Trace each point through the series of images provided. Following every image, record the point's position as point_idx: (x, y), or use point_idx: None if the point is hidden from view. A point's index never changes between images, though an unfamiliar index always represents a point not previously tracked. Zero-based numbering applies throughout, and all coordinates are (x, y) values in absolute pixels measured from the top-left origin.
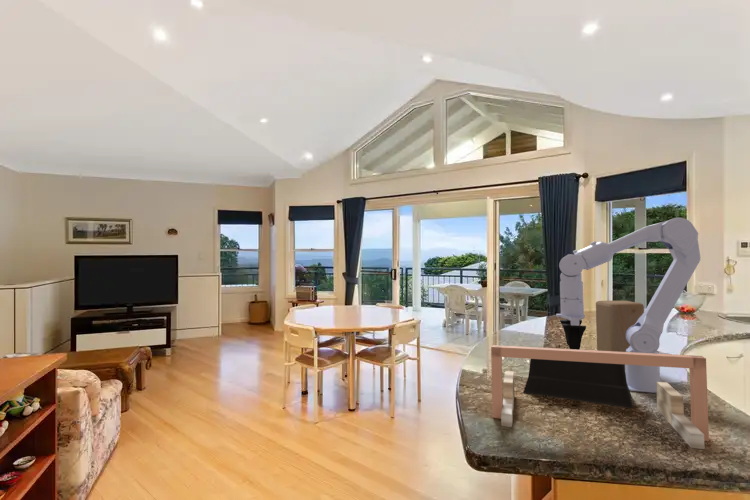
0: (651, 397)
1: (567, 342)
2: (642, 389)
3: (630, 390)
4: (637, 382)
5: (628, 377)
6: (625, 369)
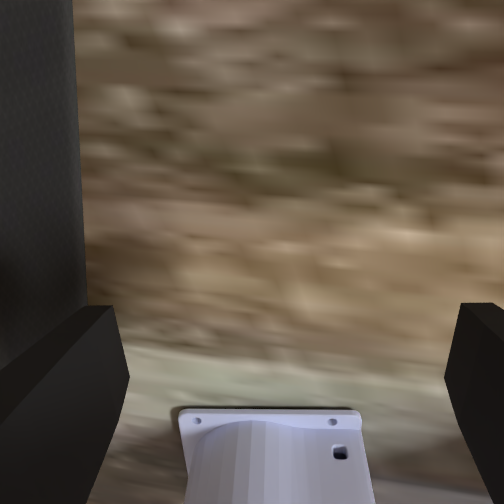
0: (129, 452)
1: (478, 327)
2: (192, 452)
3: (180, 413)
4: (195, 467)
5: (232, 458)
6: (355, 479)
